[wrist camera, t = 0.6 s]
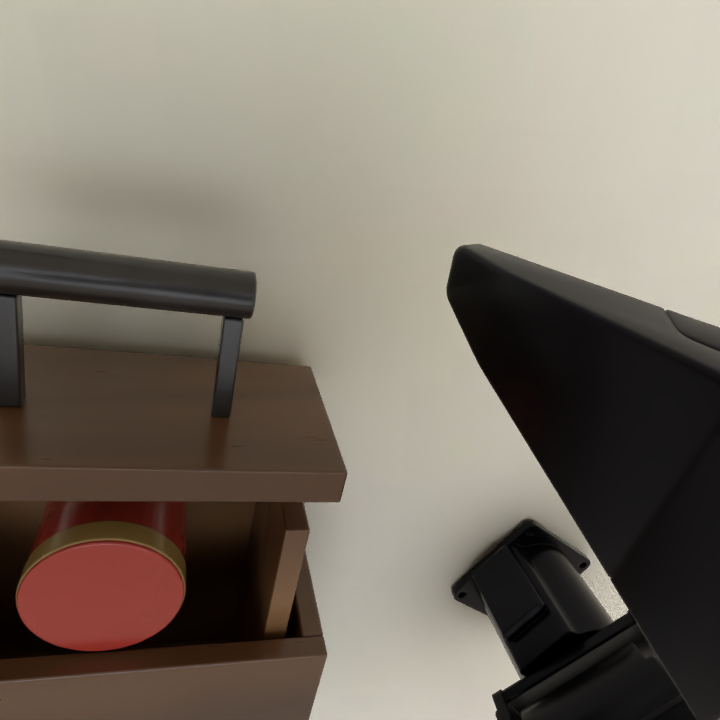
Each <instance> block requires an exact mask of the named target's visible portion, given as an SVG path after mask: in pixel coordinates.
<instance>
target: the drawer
mask: <svg viewBox="0 0 720 720" xmlns="http://www.w3.org/2000/svg"><path fill="white" fill-rule="evenodd" d="M256 285H257V281H256V274H255V273H254V272H250V271H242V270H234V269H226V268H218V267H211V266H203V265H195V264H187V263H179V262H172V261H164V260H156V259H148V258H140V257H132V256H125V255H117V254H109V253H101V252H93V251H85V250H78V249H70V248H62V247H54V246H46V245H38V244H31V243H23V242H15V241H7V240H0V659H8V658H22V657H35V656H49V655H63V654H77V653H91V652H105V651H79V650H72V649H67V648H63V647H59V646H56V645H53V644H51V643H49V642H47V641H44V640H43V639H41V638H39V637H38V636H36V635H35V634H34V633H32V632H31V631H30V630H29V629H28V628H27V627H26V626H25V624H24V623H23V621H22V620H21V618H20V615H19V613H18V610H17V606H16V600H15V598H16V589H17V585H18V582H19V579H20V576H21V573H22V570H23V567H24V565H25V563H26V561H27V559H28V558H29V555H30V552H31V549H32V546H33V543H34V540H35V537H36V534H37V531H38V528H39V525H40V522H41V519H42V516H43V513H44V510H45V507H46V504H47V501H102V502H187V510H186V545H185V564H186V594H185V598H184V601H183V604H182V606H181V608H180V609H179V611H178V613H177V614H176V616H175V617H174V618H173V620H172V621H171V622H170V623H169V624H168V625H167V626H166V627H165V628H163V629H162V630H161V631H159V632H158V633H157V634H155V635H153V636H152V637H150V638H148V639H146V640H144V641H142V642H139V643H136V644H134V645H131V646H127V647H123V648H119V649H114V650H106V651H119V650H133V649H146V648H160V647H174V646H188V645H202V644H216V643H230V642H244V641H258V640H271V639H284V638H285V634H286V629H287V625H288V621H289V617H290V612H291V608H292V604H293V600H294V595H295V591H296V587H297V582H298V578H299V574H300V570H301V565H302V561H303V557H304V552H305V548H306V544H307V540H308V535H309V531H310V530H309V525H308V521H307V516H306V512H305V508H304V503H303V502H340V500H341V496H342V492H343V488H344V484H345V480H346V476H347V470H346V467H345V464H344V461H343V459H342V456H341V453H340V450H339V447H338V444H337V441H336V438H335V436H334V433H333V430H332V427H331V424H330V421H329V418H328V415H327V412H326V410H325V407H324V404H323V401H322V398H321V395H320V392H319V389H318V387H317V384H316V381H315V378H314V375H313V372H312V369H311V367H309V366H296V365H283V364H271V363H258V362H245V361H238V358H239V351H240V344H241V337H242V330H243V322H244V321H243V318H246V319H249V318H251V317H252V315H253V311H254V306H255V299H256ZM22 296H31V297H41V298H50V299H60V300H70V301H80V302H90V303H99V304H109V305H119V306H129V307H138V308H148V309H158V310H168V311H178V312H187V313H197V314H207V315H217V316H222V323H221V332H220V340H219V348H218V356H217V359H207V358H195V357H182V356H169V355H157V354H144V353H131V352H119V351H106V350H93V349H81V348H68V347H55V346H43V345H30V344H24V338H23V313H22Z"/></svg>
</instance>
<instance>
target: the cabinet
mask: <svg viewBox="0 0 720 720" xmlns="http://www.w3.org/2000/svg"><path fill="white" fill-rule="evenodd" d="M326 657H327V651H326V646H325V641H324V637H323V632H322V628H321V623H320V618H319V613H318V609H317V604H316V599H315V594H314V590H313V585H312V580H311V575H310V570H309V566H308V561H307V556H306V551H305V552H304V557H303V561H302V565H301V570H300V574H299V578H298V582H297V587H296V591H295V595H294V600H293V604H292V608H291V612H290V617H289V621H288V625H287V629H286V634H285V638H284V639H271V640H258V641H244V642H230V643H216V644H202V645H188V646H174V647H160V648H146V649H133V650H119V651H105V652H91V653H77V654H63V655H49V656H35V657H22V658H8V659H0V720H309V717H310V713H311V710H312V706H313V703H314V699H315V696H316V692H317V689H318V685H319V682H320V678H321V675H322V671H323V668H324V664H325V661H326Z"/></svg>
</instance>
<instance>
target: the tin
mask: <svg viewBox="0 0 720 720" xmlns="http://www.w3.org/2000/svg"><path fill="white" fill-rule="evenodd" d="M186 510H187V502H102V501H47V504H46V507H45V510H44V513H43V516H42V519H41V522H40V525H39V528H38V531H37V534H36V537H35V540H34V543H33V546H32V549H31V552H30V555H29V558H28V559H27V561H26V563H25V565H24V567H23V570H22V573H21V576H20V579H19V582H18V585H17V589H16V598H15V600H16V606H17V610H18V613H19V615H20V618H21V620H22V621H23V623H24V624H25V626H26V627H27V628H28V629H29V630H30V631H31V632H32V633H34V634H35V635H36V636H38V637H39V638H41V639H43V640H44V641H47V642H49V643H51V644H53V645H56V646H59V647H63V648H67V649H72V650H79V651H106V650H114V649H119V648H123V647H127V646H131V645H134V644H136V643H139V642H142V641H144V640H146V639H148V638H150V637H152V636H153V635H155V634H157V633H158V632H159V631H161V630H162V629H163V628H165V627H166V626H167V625H168V624H169V623H170V622H171V621H172V620H173V618H174V617H175V616H176V614H177V613H178V611H179V609H180V608H181V606H182V604H183V601H184V598H185V594H186V564H185V545H186Z"/></svg>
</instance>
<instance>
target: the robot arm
mask: <svg viewBox="0 0 720 720" xmlns="http://www.w3.org/2000/svg"><path fill="white" fill-rule="evenodd" d="M447 297H448V300H449V303H450V305H451V307H452V309H453V311H454V313H455V315H456V318H457V320H458V322H459V324H460V326H461V328H462V330H463V333H464V335H465V337H466V339H467V341H468V343H469V345H470V347H471V350H472V352H473V354H474V356H475V358H476V360H477V362H478V364H479V365H480V367H481V369H482V371H483V372H484V374H485V376H486V377H487V379H488V381H489V382H490V384H491V386H492V387H493V389H494V390H495V392H496V394H497V395H498V397H499V399H500V400H501V402H502V403H503V405H504V407H505V408H506V410H507V412H508V413H509V415H510V417H511V418H512V420H513V421H514V423H515V425H516V426H517V428H518V430H519V431H520V433H521V434H522V436H523V438H524V439H525V441H526V443H527V444H528V446H529V447H530V449H531V451H532V452H533V454H534V456H535V457H536V459H537V460H538V462H539V464H540V465H541V467H542V469H543V470H544V472H545V473H546V475H547V477H548V478H549V480H550V482H551V483H552V485H553V487H554V488H555V490H556V491H557V493H558V495H559V496H560V498H561V500H562V501H563V503H564V504H565V506H566V508H567V509H568V511H569V513H570V514H571V516H572V517H573V519H574V521H575V522H576V524H577V526H578V527H579V529H580V530H581V532H582V534H583V535H584V537H585V539H586V540H587V542H588V543H589V545H590V547H591V548H592V550H593V552H594V553H595V555H596V557H597V558H598V560H599V561H600V563H601V565H602V566H603V568H604V570H605V571H606V573H607V574H608V576H609V577H611V581H612V583H613V585H614V586H615V588H616V590H617V591H618V593H619V595H620V596H621V598H622V599H623V601H624V603H625V604H626V606H627V608H628V609H629V610H628V611H627V612H628V613H627V614H625V615H624V616H622V617H620V618H619V619H617V620H615V621H613V620H612V619H611V617H610V616H609V615H608V613H607V612H606V610H605V609H604V608H603V606H602V605H601V603H600V602H599V601H598V599H597V598H596V596H595V595H594V594H593V592H592V591H591V590H590V588H589V587H588V585H587V584H586V583H585V581H584V580H583V578H582V577H581V576H580V574H581V573H582V572H583V571H584V570H586V569H587V568H588V567H589V565H590V561H589V559H588V558H587V557H586V555H584V554H583V553H581V552H580V551H578V550H577V549H575V548H574V547H572V546H571V545H569V544H568V543H566V542H565V541H563V540H562V539H560V538H559V537H557V536H556V535H554V534H553V533H551V532H550V531H548V530H547V529H545V528H543V527H542V526H540V525H539V524H537V523H536V522H534V521H532V520H529V521H526V522H524V523H523V524H522V525H521V526H519V527H518V528H517V529H516V530H515V531H514V532H513V533H512V534H511V535H510V536H509V537H507V538H506V539H505V540H504V541H503V542H502V543H501V544H500V545H499V546H498V547H497V548H496V549H494V550H493V551H492V552H491V553H490V554H489V555H488V556H487V557H486V558H485V559H484V560H482V561H481V562H480V563H479V564H478V565H477V566H476V567H475V568H474V569H473V570H472V571H471V572H469V573H468V574H467V575H466V576H465V577H464V578H463V579H462V580H461V581H460V582H459V583H457V584H456V585H455V586H454V587H453V589H452V594H453V596H454V598H455V600H457V601H459V602H461V603H463V604H465V605H467V606H469V607H471V608H473V609H475V610H477V611H479V612H482V613H484V614H486V615H488V616H489V618H490V620H491V622H492V624H493V626H494V628H495V630H496V632H497V634H498V636H499V638H500V640H501V642H502V644H503V646H504V648H505V650H506V652H507V654H508V656H509V658H510V660H511V662H512V664H513V666H514V667H515V669H516V671H517V673H518V675H519V677H520V679H521V680H519V681H517V682H516V683H514V684H513V685H511V686H509V687H508V688H506V689H504V690H503V691H502V690H499V691H497V692H496V693H494V694H493V695H492V697H493V700H494V703H495V706H496V708H497V711H496V718H497V720H720V327H717V326H714V325H711V324H708V323H705V322H702V321H699V320H696V319H693V318H690V317H687V316H684V315H681V314H678V313H676V312H673V311H670V310H666V311H665V310H664V309H663V308H661V307H658V306H655V305H653V304H650V303H647V302H644V301H641V300H638V299H635V298H633V297H630V296H627V295H624V294H621V293H618V292H616V291H613V290H610V289H607V288H604V287H601V286H598V285H596V284H593V283H590V282H587V281H584V280H581V279H578V278H576V277H573V276H570V275H567V274H564V273H561V272H559V271H556V270H553V269H550V268H547V267H544V266H541V265H539V264H536V263H533V262H530V261H527V260H524V259H521V258H519V257H516V256H513V255H510V254H507V253H504V252H502V251H499V250H496V249H493V248H490V247H487V246H484V245H481V244H472V245H463V246H460V247H458V248H457V249H456V251H455V253H454V256H453V260H452V265H451V269H450V274H449V278H448V283H447Z"/></svg>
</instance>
